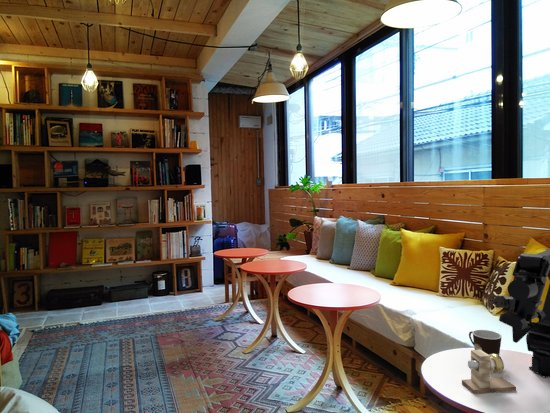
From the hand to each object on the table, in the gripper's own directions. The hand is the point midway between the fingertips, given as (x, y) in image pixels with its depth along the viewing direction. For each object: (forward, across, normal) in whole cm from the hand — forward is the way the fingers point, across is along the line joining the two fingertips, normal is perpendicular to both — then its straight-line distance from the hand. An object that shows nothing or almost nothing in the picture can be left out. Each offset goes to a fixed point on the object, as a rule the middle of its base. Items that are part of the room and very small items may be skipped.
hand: (515, 341), depth 118 cm
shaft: (+8, +12, -2) cm, 15 cm away
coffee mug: (+14, -6, -8) cm, 17 cm away
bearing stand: (+12, +11, 0) cm, 17 cm away
